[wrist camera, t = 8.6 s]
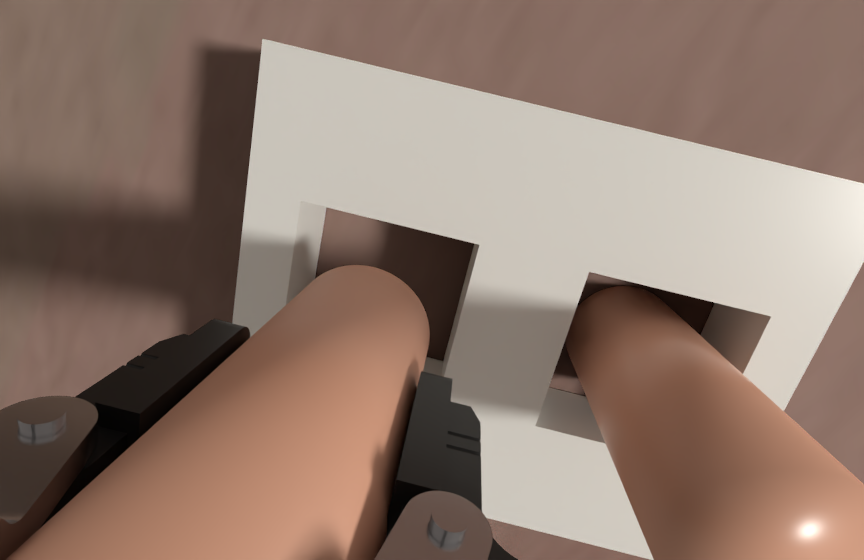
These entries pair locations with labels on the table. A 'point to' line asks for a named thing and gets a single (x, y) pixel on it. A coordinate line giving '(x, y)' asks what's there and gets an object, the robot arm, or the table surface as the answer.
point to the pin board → (598, 314)
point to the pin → (268, 442)
